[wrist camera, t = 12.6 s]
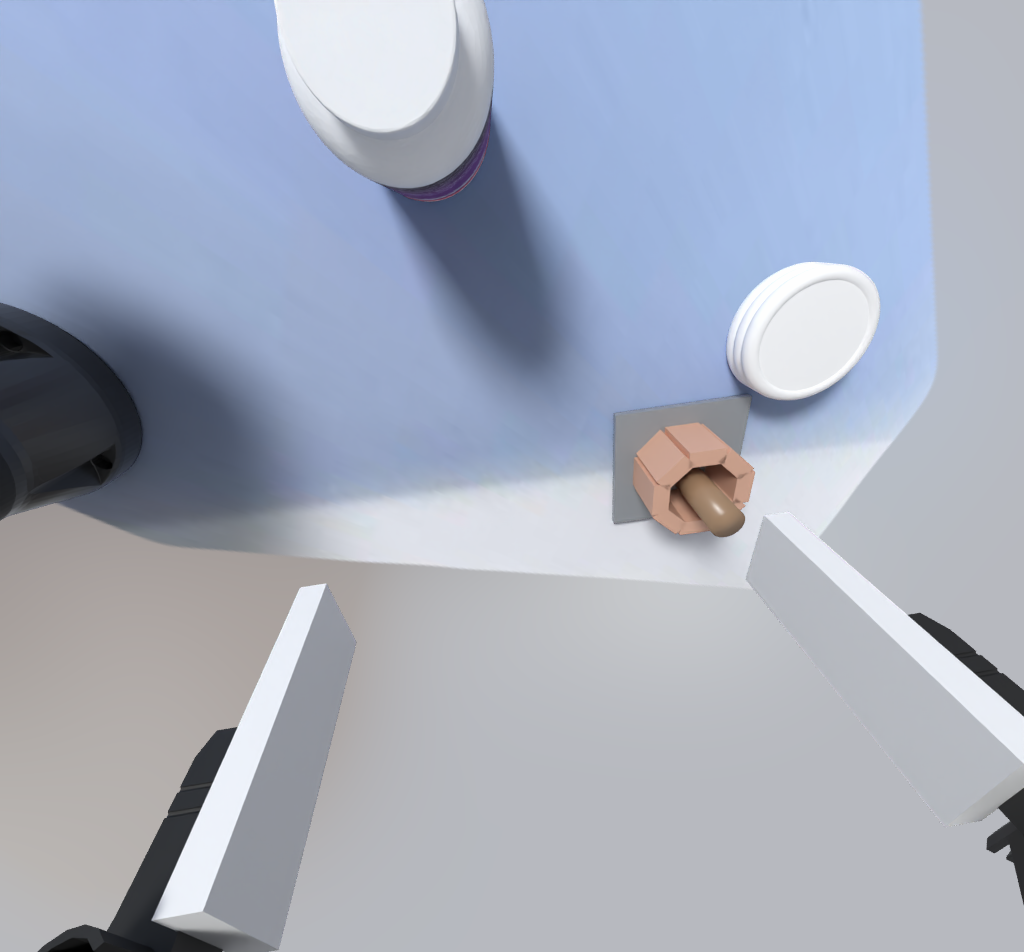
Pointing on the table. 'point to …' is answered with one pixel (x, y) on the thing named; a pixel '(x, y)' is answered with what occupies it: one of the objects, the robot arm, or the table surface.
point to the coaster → (803, 329)
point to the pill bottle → (394, 86)
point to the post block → (695, 486)
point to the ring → (675, 458)
